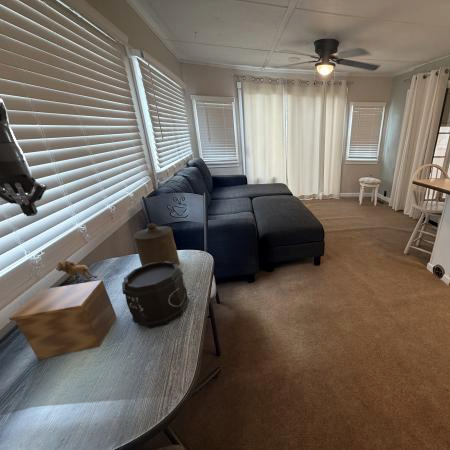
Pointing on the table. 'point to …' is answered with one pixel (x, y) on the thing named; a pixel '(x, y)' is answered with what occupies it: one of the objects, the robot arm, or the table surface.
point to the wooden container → (156, 245)
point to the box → (70, 327)
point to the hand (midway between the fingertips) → (32, 215)
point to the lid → (57, 300)
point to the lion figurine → (74, 269)
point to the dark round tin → (155, 294)
